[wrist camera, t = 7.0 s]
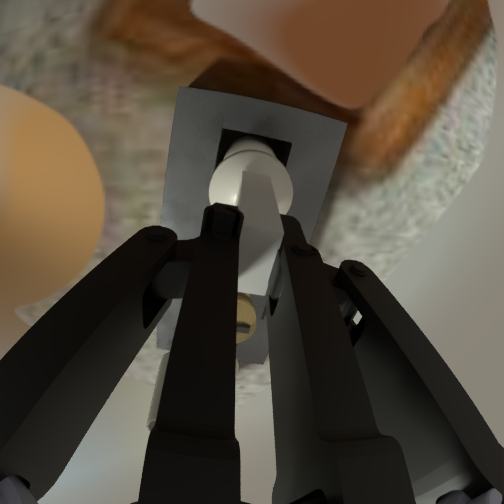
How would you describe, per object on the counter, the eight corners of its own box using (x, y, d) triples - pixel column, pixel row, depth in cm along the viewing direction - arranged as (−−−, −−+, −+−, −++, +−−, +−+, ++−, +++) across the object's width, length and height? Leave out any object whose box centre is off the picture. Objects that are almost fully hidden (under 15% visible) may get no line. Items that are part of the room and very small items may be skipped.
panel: (187, 86, 20) (179, 86, 18) (336, 118, 22) (347, 123, 19) (162, 328, 33) (157, 347, 31) (262, 344, 35) (263, 364, 32)
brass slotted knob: (209, 236, 23) (195, 298, 17) (258, 245, 24) (263, 309, 17) (202, 277, 25) (190, 342, 19) (248, 284, 26) (249, 351, 20)
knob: (226, 126, 22) (216, 145, 15) (285, 138, 22) (302, 163, 15) (216, 181, 24) (203, 223, 17) (271, 191, 24) (281, 238, 18)
